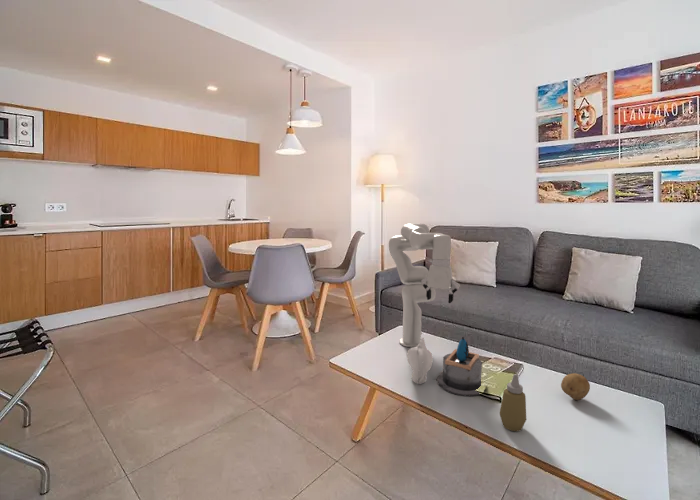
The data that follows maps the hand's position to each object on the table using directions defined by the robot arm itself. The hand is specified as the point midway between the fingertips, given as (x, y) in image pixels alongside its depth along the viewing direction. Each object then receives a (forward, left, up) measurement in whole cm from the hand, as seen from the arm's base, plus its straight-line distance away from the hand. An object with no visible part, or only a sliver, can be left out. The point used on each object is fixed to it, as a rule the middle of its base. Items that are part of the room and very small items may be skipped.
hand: (439, 300), depth 159 cm
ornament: (+11, +14, -20) cm, 27 cm away
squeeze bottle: (+30, +36, -31) cm, 56 cm away
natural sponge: (-1, +53, -31) cm, 61 cm away
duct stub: (+11, +14, -30) cm, 35 cm away
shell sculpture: (+19, -1, -31) cm, 36 cm away
